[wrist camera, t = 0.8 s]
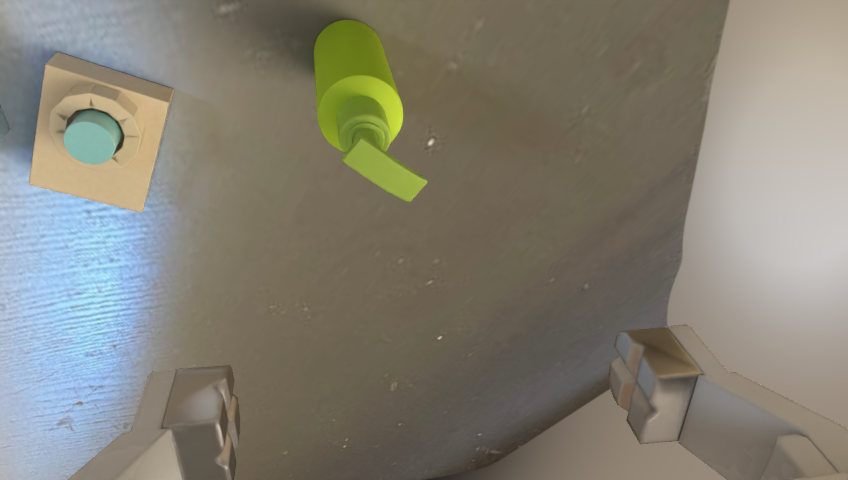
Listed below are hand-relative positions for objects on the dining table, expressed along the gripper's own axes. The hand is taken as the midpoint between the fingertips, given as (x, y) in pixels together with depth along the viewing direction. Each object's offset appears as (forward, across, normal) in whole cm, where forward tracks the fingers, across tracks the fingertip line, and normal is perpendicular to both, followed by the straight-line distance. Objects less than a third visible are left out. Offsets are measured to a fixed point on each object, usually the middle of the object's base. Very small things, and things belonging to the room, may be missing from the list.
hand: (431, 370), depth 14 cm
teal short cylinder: (+41, +20, +9) cm, 47 cm away
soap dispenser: (+46, -1, +5) cm, 46 cm away
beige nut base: (+46, +21, +11) cm, 51 cm away
